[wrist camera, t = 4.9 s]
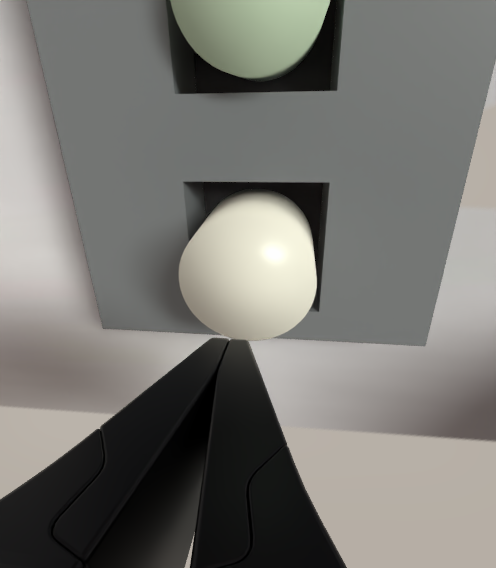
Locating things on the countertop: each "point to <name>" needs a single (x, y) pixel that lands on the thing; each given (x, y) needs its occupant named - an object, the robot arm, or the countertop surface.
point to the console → (271, 154)
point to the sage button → (251, 33)
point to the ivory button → (250, 266)
